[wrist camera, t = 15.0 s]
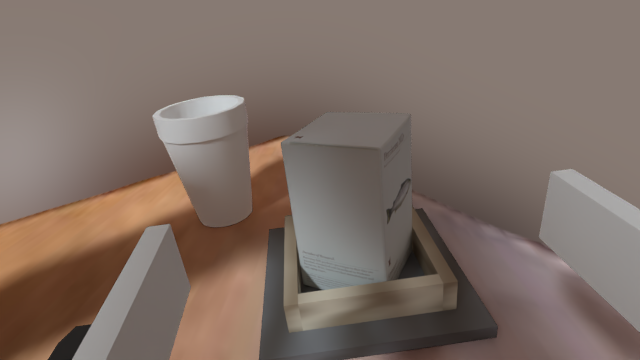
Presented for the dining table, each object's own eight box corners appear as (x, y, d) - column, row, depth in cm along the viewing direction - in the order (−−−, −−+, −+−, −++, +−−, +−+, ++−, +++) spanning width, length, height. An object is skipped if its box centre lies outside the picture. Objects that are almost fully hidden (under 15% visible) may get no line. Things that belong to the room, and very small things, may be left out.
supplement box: (388, 309, 28) (380, 148, 23) (301, 285, 31) (275, 140, 26) (415, 251, 34) (414, 111, 28) (338, 236, 37) (324, 108, 32)
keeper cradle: (261, 371, 26) (251, 333, 24) (271, 237, 40) (265, 208, 39) (496, 337, 26) (501, 297, 25) (422, 216, 41) (422, 187, 39)
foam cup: (169, 225, 45) (133, 117, 39) (224, 190, 52) (200, 94, 46) (230, 242, 40) (198, 123, 35) (281, 201, 47) (262, 96, 42)
